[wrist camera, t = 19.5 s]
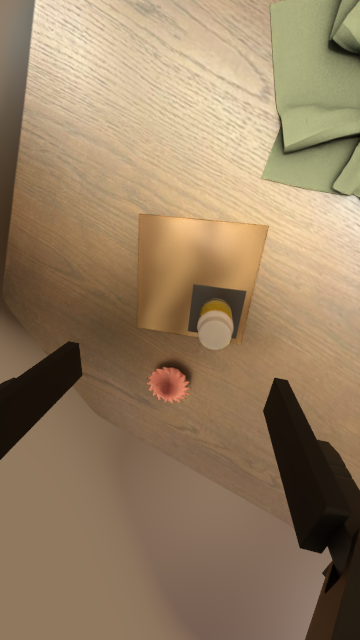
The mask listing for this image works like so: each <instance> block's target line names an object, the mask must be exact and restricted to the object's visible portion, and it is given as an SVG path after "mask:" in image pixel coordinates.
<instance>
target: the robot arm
mask: <svg viewBox="0 0 360 640" xmlns="http://www.w3.org/2000/svg"><path fill="white" fill-rule="evenodd" d="M81 376H82V367H81V358H80V349H79V343H75V342H70V341H69V342H67V343H66V344H64V345H63V346H61V347H60V348H59V349H57V350H56V351H54V352H53V353H52V354H50V355H49V356H47V357H46V358H44V359H43V360H42V361H40V362H39V363H38V364H36V365H35V366H33V367H32V368H31V369H29V370H27V371H26V372H25V373H23V374H22V375H20V376H19V377H17V378H12V379H10V380H7V381H5V382H3V383H1V384H0V460H1V459H2V458H3V457H4V456H5V455H6V454H7V452H8V451H9V450H10V449H11V448H12V447H13V446H14V445H15V444H16V443H17V442H18V441H19V440H20V439H21V438H22V437H23V436H24V435H25V434H26V433H27V432H28V431H29V430H30V429H31V428H32V427H33V426H34V425H35V424H36V423H37V422H38V421H39V420H40V419H41V417H43V415H44V414H45V413H46V412H47V411H48V410H49V409H50V408H51V407H52V406H53V405H54V404H55V403H56V402H57V401H58V400H59V399H60V398H61V397H62V396H63V395H64V394H65V393H66V392H67V391H68V390H69V389H70V388H71V387H72V386H73V385H74V384H75V383H76V382H77V380H78V379H79V378H80V377H81ZM263 412H264V416H265V419H266V423H267V427H268V431H269V434H270V438H271V442H272V446H273V449H274V453H275V457H276V461H277V464H278V468H279V472H280V476H281V479H282V483H283V487H284V491H285V494H286V498H287V502H288V506H289V509H290V513H291V517H292V521H293V524H294V528H295V532H296V536H297V539H298V543H299V547H300V548H302V549H306V550H310V551H313V552H317V553H322V552H323V551H324V550H325V548H326V547H327V546H328V549H329V551H330V554H331V557H332V562H331V563H330V564H329V565H328V566H327V568H326V569H325V570H324V571H323V573H322V574H323V575H324V576H325V581H324V583H323V587H322V590H321V593H320V596H319V599H318V602H317V605H316V608H315V611H314V614H313V617H312V620H311V623H310V626H309V629H308V632H307V635H306V639H305V640H360V490H359V489H358V487H357V485H356V483H355V482H354V480H353V479H352V476H351V474H350V473H349V471H348V469H347V468H346V466H345V464H344V462H343V460H342V458H341V457H340V455H339V453H338V452H337V451H336V450H335V449H334V448H333V447H332V446H331V445H330V444H329V442H326V441H321V440H317V439H316V437H315V435H314V433H313V431H312V429H311V427H310V425H309V423H308V421H307V419H306V417H305V415H304V413H303V411H302V409H301V407H300V405H299V403H298V401H297V399H296V397H295V395H294V393H293V391H292V389H291V387H290V384H289V382H288V380H284V379H278V378H274V381H273V384H272V387H271V390H270V393H269V396H268V398H267V401H266V404H265V407H264V410H263Z"/></svg>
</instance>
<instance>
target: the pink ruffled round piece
mask: <svg viewBox="0 0 360 640" xmlns="http://www.w3.org/2000/svg"><path fill="white" fill-rule="evenodd" d="M156 370H157V371H155V372H151V374H153V375H152V376H150V377H148V379H151V381H150V382H148V383H147V384H148V385H151V387H150V388H149V390H154V392H153V396H154V395H156V394H157V396H158V400H160V398H161V397H162V398H163V399H164V401H165V403H166V401H167V400H169V401H170V402H172V404H173V400H175V401H178V402H179V403H180V401H179V400H178V398H183V399H185V398H184V397H183V395H187V394H188V395H189V393H186V392H185V391H187V390H188V389H191V388H189V387H186V385H187V384H188V383H189V381H187V382H185V375H183V374H182V373H181V372H180V371H179V369H175V368H173V367H172V368H166V367H163V369H156Z"/></svg>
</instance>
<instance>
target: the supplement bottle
mask: <svg viewBox="0 0 360 640" xmlns="http://www.w3.org/2000/svg"><path fill="white" fill-rule="evenodd" d="M197 330H198V337H199V340H200V342H201V344H202V345H203V346H205V347H206V348H208V349H211V350H219V349H222V348H224V347H226V346H227V345H228V344H229V342H230V340H231V335H232V333H233V320H232V313H231V309H230V306H229V305H228V303H227V302H225V301H224V300H222V299H217V298H215V299H210V300H208V301H207V302H205V303H204V305H203V306H202V308H201V312H200V316H199V319H198V324H197Z"/></svg>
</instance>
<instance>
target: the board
mask: <svg viewBox="0 0 360 640" xmlns="http://www.w3.org/2000/svg"><path fill="white" fill-rule="evenodd" d="M268 227H269V226H267V225H256V224H245V223H234V222H223V221H213V220H202V219H191V218H180V217H169V216H158V215H147V214H139V253H138V317H137V327H139V328H145V329H151V330H157V331H163V332H169V333H175V334H181V335H187V336H193V337H198V330H197V324H198V319H199V316H200V312H201V308H202V306H203V305H204V303H205V302H207V301H208V300H210V299H215V298H217V299H222V300H224V301H225V302H227V303H228V305H229V306H230V309H231V313H232V320H233V333H232V335H231V340H230V342H229V343H235V344H241V341H242V336H243V332H244V328H245V324H246V320H247V315H248V311H249V307H250V303H251V299H252V294H253V290H254V286H255V282H256V278H257V273H258V269H259V265H260V261H261V257H262V252H263V248H264V244H265V240H266V236H267V231H268Z"/></svg>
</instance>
